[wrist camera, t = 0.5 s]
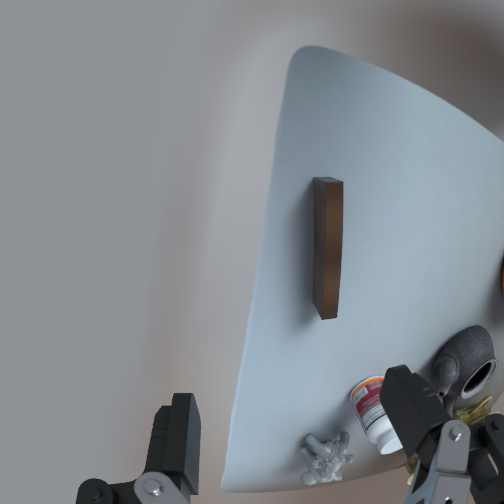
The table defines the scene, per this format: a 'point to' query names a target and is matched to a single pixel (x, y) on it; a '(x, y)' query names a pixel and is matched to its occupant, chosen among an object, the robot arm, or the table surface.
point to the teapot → (464, 366)
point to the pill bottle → (374, 415)
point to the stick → (327, 245)
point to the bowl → (503, 283)
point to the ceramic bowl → (466, 414)
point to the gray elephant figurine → (324, 459)
